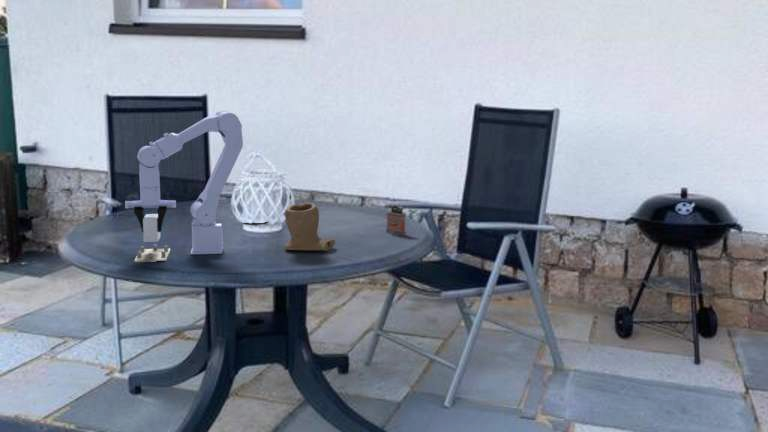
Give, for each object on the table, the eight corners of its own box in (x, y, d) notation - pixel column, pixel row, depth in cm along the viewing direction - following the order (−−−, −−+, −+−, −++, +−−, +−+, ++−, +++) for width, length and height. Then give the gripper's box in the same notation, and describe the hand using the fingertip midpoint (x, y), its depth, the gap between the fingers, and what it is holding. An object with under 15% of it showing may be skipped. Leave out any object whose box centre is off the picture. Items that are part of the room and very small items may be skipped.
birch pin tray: (170, 250, 247) (170, 243, 247) (165, 261, 234) (165, 254, 233) (140, 251, 246) (140, 244, 245) (134, 262, 232) (133, 255, 232)
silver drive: (160, 236, 243) (160, 214, 242) (157, 241, 235) (157, 218, 234) (146, 236, 243) (146, 214, 241) (143, 242, 235) (142, 218, 234)
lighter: (407, 234, 274) (408, 206, 272) (401, 235, 272) (401, 207, 270) (390, 230, 280) (390, 203, 278) (384, 232, 277) (384, 204, 275)
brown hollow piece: (279, 254, 244) (278, 206, 242) (289, 245, 256) (289, 199, 253) (327, 256, 242) (327, 208, 239) (335, 247, 254) (335, 201, 251)
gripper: (176, 184, 241) (177, 228, 243) (126, 184, 238) (128, 229, 241) (174, 188, 234) (175, 233, 236) (123, 188, 231) (125, 234, 234)
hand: (151, 231), depth 238 cm, fingers closed on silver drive, 4 cm apart
